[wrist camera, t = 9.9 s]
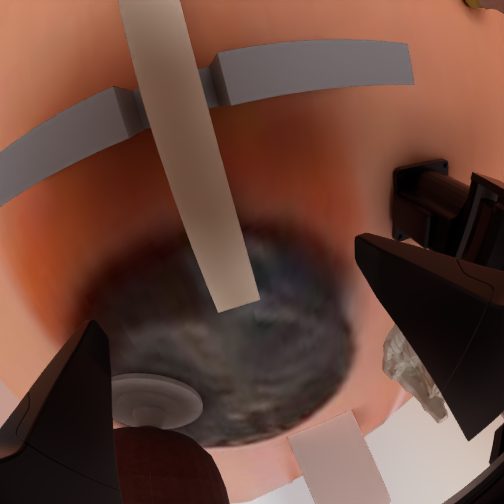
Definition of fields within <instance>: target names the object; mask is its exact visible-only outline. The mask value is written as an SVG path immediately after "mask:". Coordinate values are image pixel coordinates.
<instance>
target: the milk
mask: <svg viewBox="0 0 504 504" xmlns="http://www.w3.org/2000/svg"><path fill="white" fill-rule="evenodd" d="M287 438H288V440H289V442H290V445H291V447H292V450H293V452H294V455H295V457H296V460H297V462H298V464H299V467H300V469H301V472H302V474H303V476H304V478H305V481H306V483H307V486H308V488H309V490H310V493H311V495H312V497H313V500H314V502H315V504H389V503H390V497H389V494H388V491H387V489H386V487H385V484H384V482H383V480H382V477H381V475H380V473H379V471H378V468H377V466H376V464H375V462H374V459H373V457H372V455H371V452H370V450H369V448H368V446H367V443H366V441H365V439H364V437H363V435H362V432H361V430H360V428H359V426H358V424H357V421H356V419H355V417H354V415H353V413H352V410H349V411H347V412H345V413H343V414H340V415H338V416H336V417H334V418H332V419H329V420H327V421H325V422H323V423H320V424H318V425H315V426H313V427H311V428H308V429H306V430H303V431H300V432H298V433H295V434H292V435H290V436H287Z"/></svg>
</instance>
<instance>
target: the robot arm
mask: <svg viewBox="0 0 504 504" xmlns="http://www.w3.org/2000/svg"><path fill="white" fill-rule="evenodd" d="M400 173H401V175H400ZM399 175H400V177H399ZM408 238H411V239H413V240H414V241H415V242H416V243H418V244H419V245H420V246H422V247H423V248H421V247H417V246H414V245H410V244H407V243H403V242H400V241H403V240H406V239H408ZM393 239H394V240H392V239H389V238H385V237H381V236H377V235H374V234H370V233H363V234H360V235H357V236H356V237H355V260H356V263H357V265H358V266H359V268H360V270H361V271H362V273H363V275H364V276H365V278H366V280H367V282H368V283H369V285H370V287H371V289H372V290H373V292H374V294H375V295H376V297H377V298H378V300H379V301H380V303H381V304H382V305H383V307H384V308H385V310H386V311H387V312H388V314H389V315H390V317H391V318H392V319H393V321H394V322H395V324H396V325H397V327H398V328H399V329H400V331H401V332H402V334H403V335H404V337H405V338H406V340H407V341H408V343H409V344H410V346H411V347H412V349H413V350H414V352H415V353H416V355H417V356H418V358H419V359H420V361H421V362H422V364H423V365H424V367H425V369H426V370H427V372H428V373H429V375H430V376H431V378H432V380H433V381H434V383H435V385H436V386H437V388H438V389H439V391H440V393H441V395H442V396H443V398H444V400H445V401H446V403H447V405H448V406H449V408H450V410H451V412H452V414H453V415H454V417H455V419H456V420H457V422H458V424H459V426H460V428H461V430H462V431H463V433H464V435H465V437H466V439H467V440H468V441H470V440H471V439H472V438H474V437H475V436H476V435H477V434H479V433H480V432H481V431H482V430H483V429H484V428H486V427H487V426H488V425H489V424H490V423H491V422H492V421H494V420H495V419H496V418H497V417H498V416H499V415H500V414H501V415H502V417H503V418H504V183H503V182H501V181H499V180H496V179H493V178H490V177H487V176H484V175H481V174H478V173H474V172H472V175H471V185H470V186H468V185H466V184H464V183H462V182H460V181H458V180H455V179H453V178H451V177H449V176H448V161H447V160H445V159H439V160H434V161H429V162H424V163H419V164H415V165H410V166H406V167H401V168H398V169H396V170H395V172H394V223H393ZM427 248H428V249H429V250H428V249H427ZM489 463H490V466H489V467H488V468H487V469H486V470H484V471H483V472H482V473H481V474H480V475H479V476H478V477H476V478H475V479H474V480H473V481H472V482H471V483H469V484H468V485H467V486H465V487H464V488H463V489H462V490H461V491H459V492H458V493H456V494H455V495H454V496H452V497H451V498H450V499H448V500H447V501H445V502H444V503H443V504H504V423H503V424H502V425H501V426H500V427H499V428H498V429H497V430H496V431H495V435H494V441H493V446H492V451H491V456H490V460H489ZM0 504H123V503H122V497H121V492H120V486H119V480H118V472H117V465H116V456H115V445H114V433H113V415H112V378H111V366H110V352H109V340H108V337H107V335H106V334H105V332H104V331H103V330H102V328H101V327H100V326H99V324H98V323H97V322H96V321H95V320H93V319H91V320H88V321H84V322H83V323H82V324H81V325H80V326H79V328H78V329H77V330H76V331H75V332H74V334H73V335H72V336H71V337H70V338H69V339H68V341H67V342H66V343H65V344H64V346H63V347H62V348H61V349H60V350H59V352H58V353H57V354H56V355H55V357H54V358H53V359H52V360H51V362H50V363H49V364H48V366H47V367H46V368H45V369H44V371H43V372H42V373H41V375H40V376H39V377H38V379H37V380H36V381H35V383H34V384H33V385H32V387H31V388H30V389H29V391H28V392H27V393H26V395H25V396H24V398H23V399H22V400H21V402H20V403H19V405H18V406H17V407H16V409H15V410H14V411H13V413H12V414H11V415H10V416H9V418H8V419H7V420H6V422H5V423H4V424H3V426H2V427H1V428H0Z"/></svg>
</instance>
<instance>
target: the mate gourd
mask: <svg viewBox="0 0 504 504" xmlns="http://www.w3.org/2000/svg"><path fill="white" fill-rule="evenodd" d="M111 378H112V415H113V419H115V420H117V421H119V422H121V423H124V424H127V425H130V426H133V427H123V428H117V429H113V433H114V445H115V456H116V465H117V472H118V480H119V486H120V492H121V497H122V503H123V504H230V503H229V499H228V495H227V490H226V487H225V484H224V482H223V479H222V477H221V474H220V472H219V470H218V468H217V466H216V464H215V462H214V460H213V458H212V456H211V455H210V454H209V453H208V452H207V451H205V450H204V449H203V448H202V447H201V446H200V445H199V444H198V443H197V442H196V441H194V440H193V439H192V438H190V437H188V436H186V435H184V434H181V433H178V432H174V431H170V430H165V429H172V428H177V427H181V426H184V425H187V424H189V423H191V422H193V421H194V420H196V419H197V418H198V417H199V416H200V415H201V413H202V410H203V404H202V399H201V397H200V395H199V394H198V393H197V391H196V390H194V389H193V388H192V387H190V386H189V385H187V384H185V383H183V382H181V381H178V380H175V379H173V378H169V377H165V376H161V375H154V374H145V373H130V374H122V375H116V376H113V377H111Z"/></svg>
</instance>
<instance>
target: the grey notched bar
mask: <svg viewBox="0 0 504 504" xmlns="http://www.w3.org/2000/svg"><path fill="white" fill-rule="evenodd" d="M198 72H199V76H200V80H201V84H202V87H203V91H204V95H205V99H206V102H207V106H208V109H210V108H214V107H217V106H233V105H237V104H241V103H246V102H250V101H255V100H260V99H264V98H270V97H275V96H281V95H286V94H293V93H299V92H306V91H313V90H322V89H331V88H341V87H353V86H370V85H414V78H413V72H412V66H411V60H410V54H409V49H408V44H406V43H397V42H387V41H375V40H353V39H326V40H304V41H291V42H280V43H272V44H264V45H257V46H250V47H244V48H239V49H233V50H228V51H223V52H219V53H217V54H216V56H215V58H214V60H213V61H212V63H211V65H210V66H209V67H205V68H201V69H198ZM147 128H150V123H149V120H148V117H147V113H146V110H145V106H144V103H143V100H142V96H141V92H140V89H139V88H138V89H136V90H133V91H131V90H127V89H123V88H118V87H114V86H113V87H110V88H108V89H106V90H104V91H101V92H99V93H97V94H95V95H93V96H91V97H89V98H87V99H85V100H83V101H81V102H79V103H77V104H75V105H73V106H71V107H69V108H68V109H66V110H64V111H62V112H60V113H59V114H57V115H55V116H53V117H52V118H50V119H48V120H47V121H45V122H43V123H42V124H40V125H39V126H37V127H35V128H34V129H32V130H31V131H29V132H28V133H26V134H25V135H23V136H22V137H20V138H19V139H18V140H16V141H15V142H13V143H12V144H11V145H9V146H8V147H6V148H5V149H4V150H2V151H1V152H0V207H1V206H2V205H4V204H5V203H7V202H8V201H10V200H11V199H13V198H14V197H16V196H17V195H19V194H20V193H22V192H24V191H25V190H27V189H28V188H30V187H32V186H33V185H35V184H37V183H39V182H40V181H42V180H44V179H46V178H47V177H49V176H51V175H53V174H55V173H56V172H58V171H60V170H62V169H64V168H66V167H68V166H70V165H72V164H74V163H76V162H78V161H80V160H82V159H84V158H86V157H88V156H90V155H92V154H94V153H97V152H99V151H101V150H103V149H105V148H108V147H110V146H112V145H115V144H117V143H119V142H122V141H124V140H127V139H129V138H131V137H132V136H134V135H136V134H137V133H139V132H141V131H143V130H145V129H147Z"/></svg>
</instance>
